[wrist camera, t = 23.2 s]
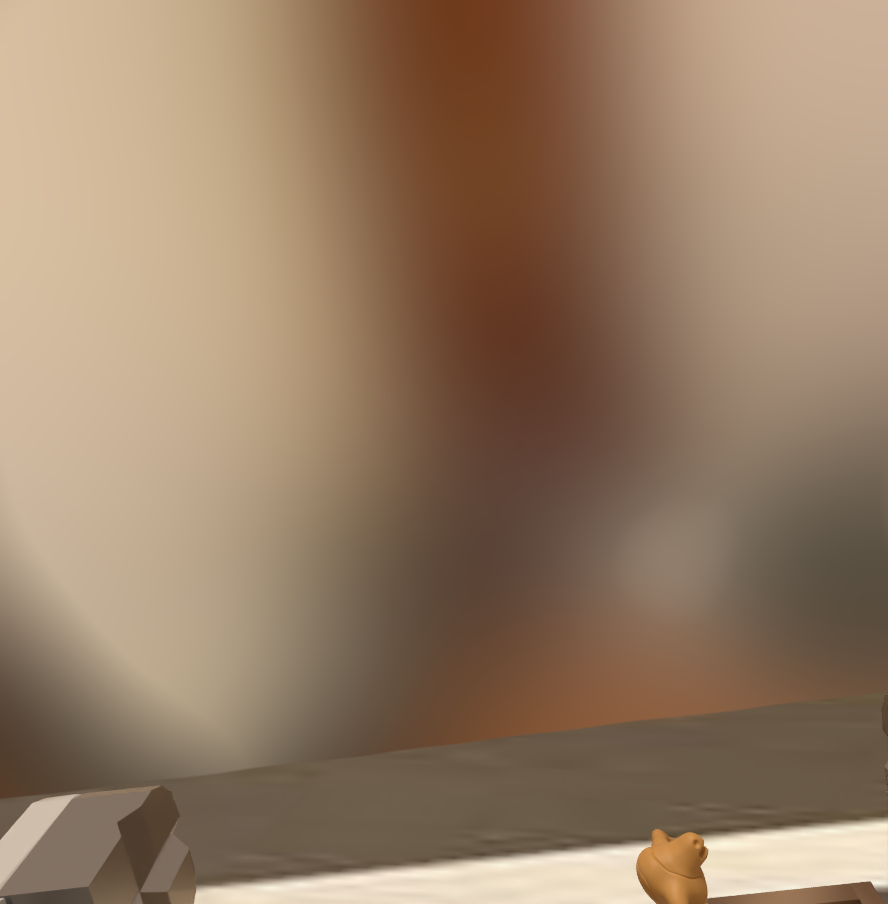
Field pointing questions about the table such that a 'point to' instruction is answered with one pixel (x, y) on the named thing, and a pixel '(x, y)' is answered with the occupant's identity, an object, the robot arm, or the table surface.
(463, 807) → the table surface
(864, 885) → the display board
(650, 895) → the figurine
